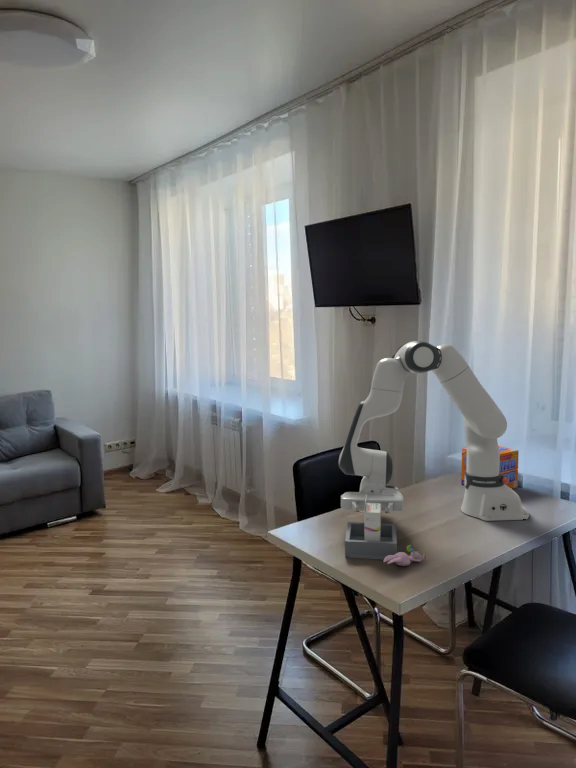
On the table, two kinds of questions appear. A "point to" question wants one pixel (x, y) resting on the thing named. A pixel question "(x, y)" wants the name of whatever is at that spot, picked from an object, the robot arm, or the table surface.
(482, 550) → the table surface
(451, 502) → the table surface
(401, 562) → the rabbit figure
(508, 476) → the game box
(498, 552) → the table surface
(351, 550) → the cartridge bin
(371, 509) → the ink cartridge box
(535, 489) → the table surface
